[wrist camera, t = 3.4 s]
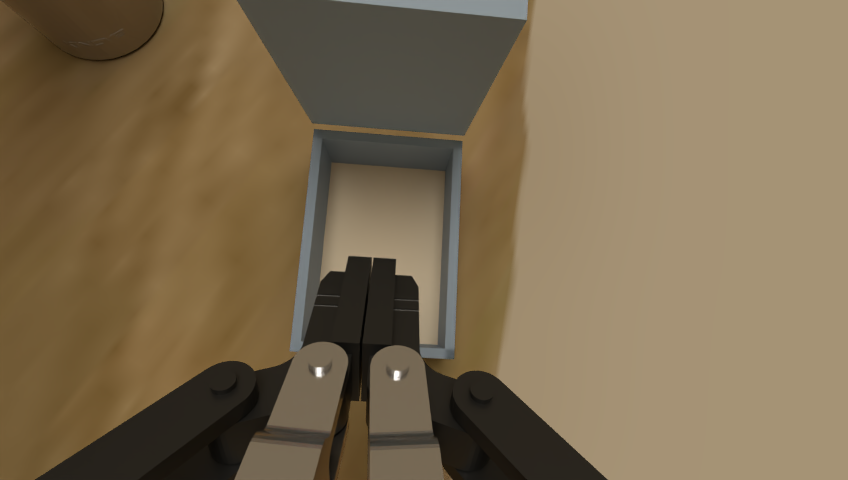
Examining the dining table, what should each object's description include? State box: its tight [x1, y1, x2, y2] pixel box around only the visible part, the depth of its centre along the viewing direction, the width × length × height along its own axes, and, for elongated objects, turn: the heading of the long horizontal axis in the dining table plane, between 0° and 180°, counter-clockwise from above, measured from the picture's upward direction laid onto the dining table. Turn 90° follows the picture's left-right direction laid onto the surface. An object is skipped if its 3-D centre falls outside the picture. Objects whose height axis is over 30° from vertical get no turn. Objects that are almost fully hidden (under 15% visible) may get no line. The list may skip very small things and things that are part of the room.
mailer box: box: [290, 129, 462, 359], centre depth 30 cm, size 14×10×5 cm
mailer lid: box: [237, 0, 528, 135], centre depth 21 cm, size 14×10×1 cm
